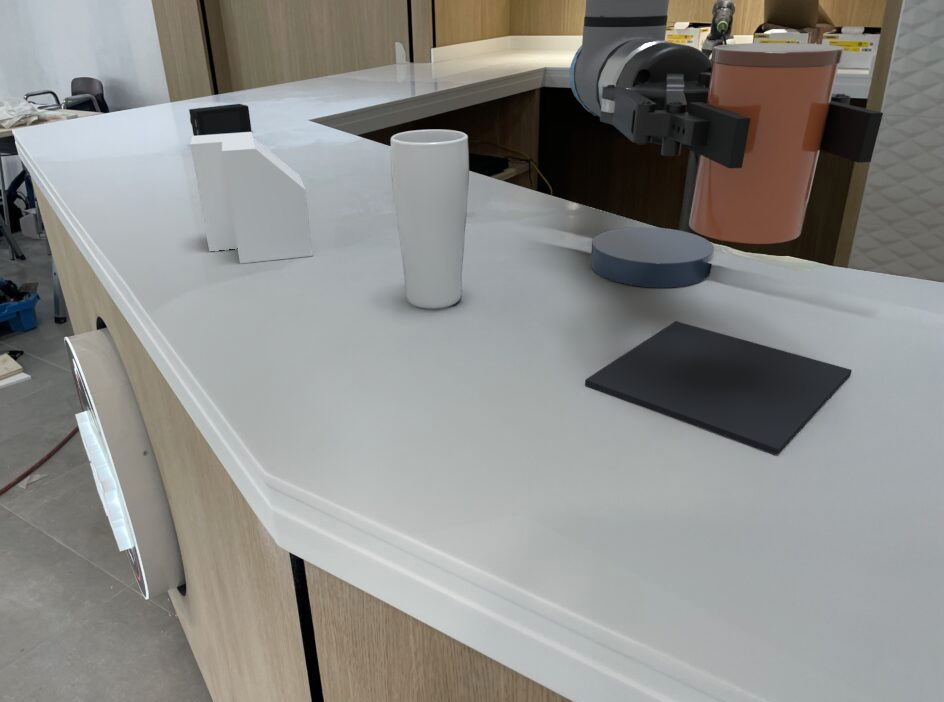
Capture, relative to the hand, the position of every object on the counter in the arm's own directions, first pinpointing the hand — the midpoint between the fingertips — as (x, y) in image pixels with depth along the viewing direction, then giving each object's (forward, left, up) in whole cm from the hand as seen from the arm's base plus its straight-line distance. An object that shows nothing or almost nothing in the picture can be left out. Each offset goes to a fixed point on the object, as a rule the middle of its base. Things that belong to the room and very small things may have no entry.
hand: (805, 140), depth 41 cm
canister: (+4, -3, -6) cm, 8 cm away
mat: (+4, -3, -18) cm, 19 cm away
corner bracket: (+58, 0, -18) cm, 60 cm away
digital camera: (+119, -34, -18) cm, 125 cm away
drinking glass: (+31, -1, -18) cm, 36 cm away
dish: (+20, -22, -18) cm, 35 cm away
